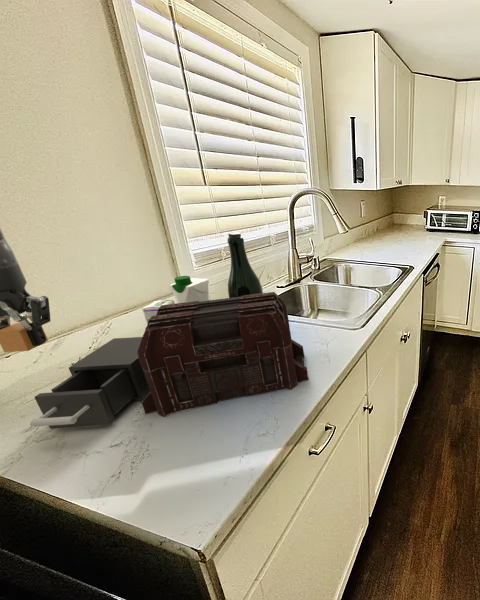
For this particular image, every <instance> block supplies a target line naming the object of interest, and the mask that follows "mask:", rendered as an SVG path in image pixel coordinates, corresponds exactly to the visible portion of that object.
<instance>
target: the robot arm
mask: <svg viewBox="0 0 480 600" xmlns="http://www.w3.org/2000/svg"><path fill="white" fill-rule="evenodd" d="M26 285H27V279H26V277H25V275H24V273H23V271H22V268H21V266H20V264H19V262H18V260H17V257H16V255H15V253H14V250H13V249H12V247H11V246H10V244H9V243H8V241H7V239H6V237H5V234H4V232H3V230H2V228H1V227H0V330H1V329H3V328H6V327H8V326H11V319H12V320H13V321H14V322H15V323H20V324H21V325H22V326H23V327H24V328H25V329H26V330H27V331H26V332H27V334H28V337H29V339H30V341H31V343H32V345H33V346H37V347H39V346H42V345H44V344H46V342H47V341H46V336H47V335H46V336H45V334H46V333H45V334H44V332H45V330H44V328H43V326H45V325H46V324H48V323H50V322H51V320H52V319H51V311H50V301H49V297H48V296H46V295H42V296H40V297H39V296H33V295H32V294H31V293H30V292H28V291H27V289H26ZM24 313H25V314H24ZM28 319H29V320H30V321H29V320H28ZM30 322H32V323H30ZM42 328H43V329H42ZM43 330H44V331H43Z"/></svg>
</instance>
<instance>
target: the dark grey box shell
mask: <svg viewBox="0 0 480 600" xmlns="http://www.w3.org/2000/svg"><path fill="white" fill-rule="evenodd" d="M142 337H143V336H133V337H116V338H115V337H114V338H112V339H110V340H109V341H107V342H106V343H104V344H103V345H101V346H100V347H98V348H97V349H95V350H94V351H92V352H90V353H89V354H88V355H86V356H84V357H83V358H81V359H80V360H78V361H77V362H75V363H73V364H72V365H70V366H69V367H68V370H69V373H70V376H72V375H74V374H75V373H77V372H78V371H80V370H97V369H114V368H128V371H129V373H130V376H131V379H132V382H133V384H134V387H135V390H136V392H137V395H136V396H135V397H134V398H132V399H131V400H130V401H129V402H136V401H137V402H138V401H143V399H144V398H145V397H146V396H147V395H148V393H149V392H150V388H149V386H148V383H147V380H146V377H145V374H144V371H143V369H142V366H141V363H140V360H139V357H138V354H137V351H138V349H139V346H140V343H141V340H142Z"/></svg>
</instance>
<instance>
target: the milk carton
mask: <svg viewBox="0 0 480 600" xmlns="http://www.w3.org/2000/svg"><path fill="white" fill-rule="evenodd" d="M209 285H210V280H209V278H195V277H194V278H193V277H191V276H189V275H180V276H176V277H175V278H174V282H173V283H171V284H168V287H169V288H170V291H171V292H172V294H173V296H174V298H175V301H176V302H175V303H185V302H193V301H199V302H200V301H209V300H211V295H210V289H209V287H210V286H209Z"/></svg>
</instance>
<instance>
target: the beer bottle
mask: <svg viewBox="0 0 480 600" xmlns="http://www.w3.org/2000/svg"><path fill="white" fill-rule="evenodd" d="M227 235H228V237H227V244H228V250H229V255H230V256H229V257H230V270H229V275H228V281H227V298H234V297H241V296H243V295H251V294H260V293H264V289H263V286H262V283H261V281H260V279H259V277H258V275H257V274H256V273H255V270H254V269H253V268H252V266H251V264H250V261H249V259H248V255H247V251H246V246H245V239H244V237H243V236H242V234H241V232H230V233H228V234H227Z"/></svg>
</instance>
